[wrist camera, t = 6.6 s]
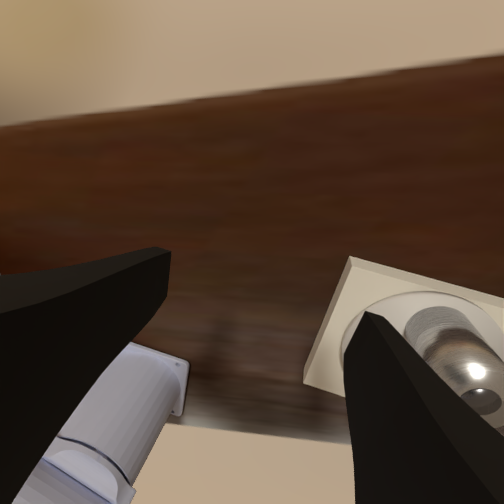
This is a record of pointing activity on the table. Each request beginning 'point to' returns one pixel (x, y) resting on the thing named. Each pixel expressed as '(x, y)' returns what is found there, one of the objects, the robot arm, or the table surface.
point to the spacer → (460, 359)
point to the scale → (390, 314)
